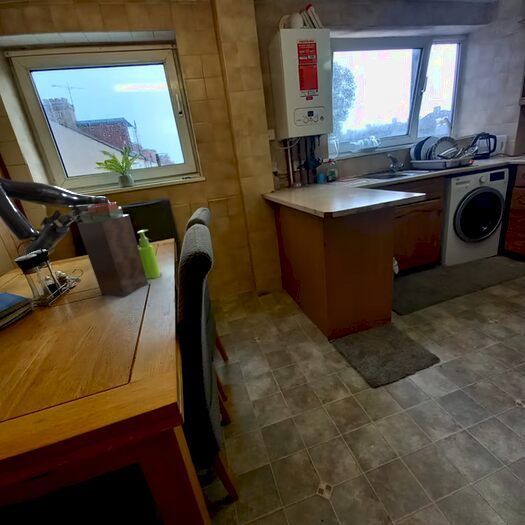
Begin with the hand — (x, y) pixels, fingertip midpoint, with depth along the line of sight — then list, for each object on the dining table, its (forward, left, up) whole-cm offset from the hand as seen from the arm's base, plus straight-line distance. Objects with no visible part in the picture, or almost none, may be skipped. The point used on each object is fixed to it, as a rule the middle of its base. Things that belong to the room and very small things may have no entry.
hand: (70, 209), depth 104 cm
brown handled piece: (+3, +10, -3) cm, 11 cm away
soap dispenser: (-8, +21, -32) cm, 39 cm away
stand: (+4, +15, -32) cm, 36 cm away
